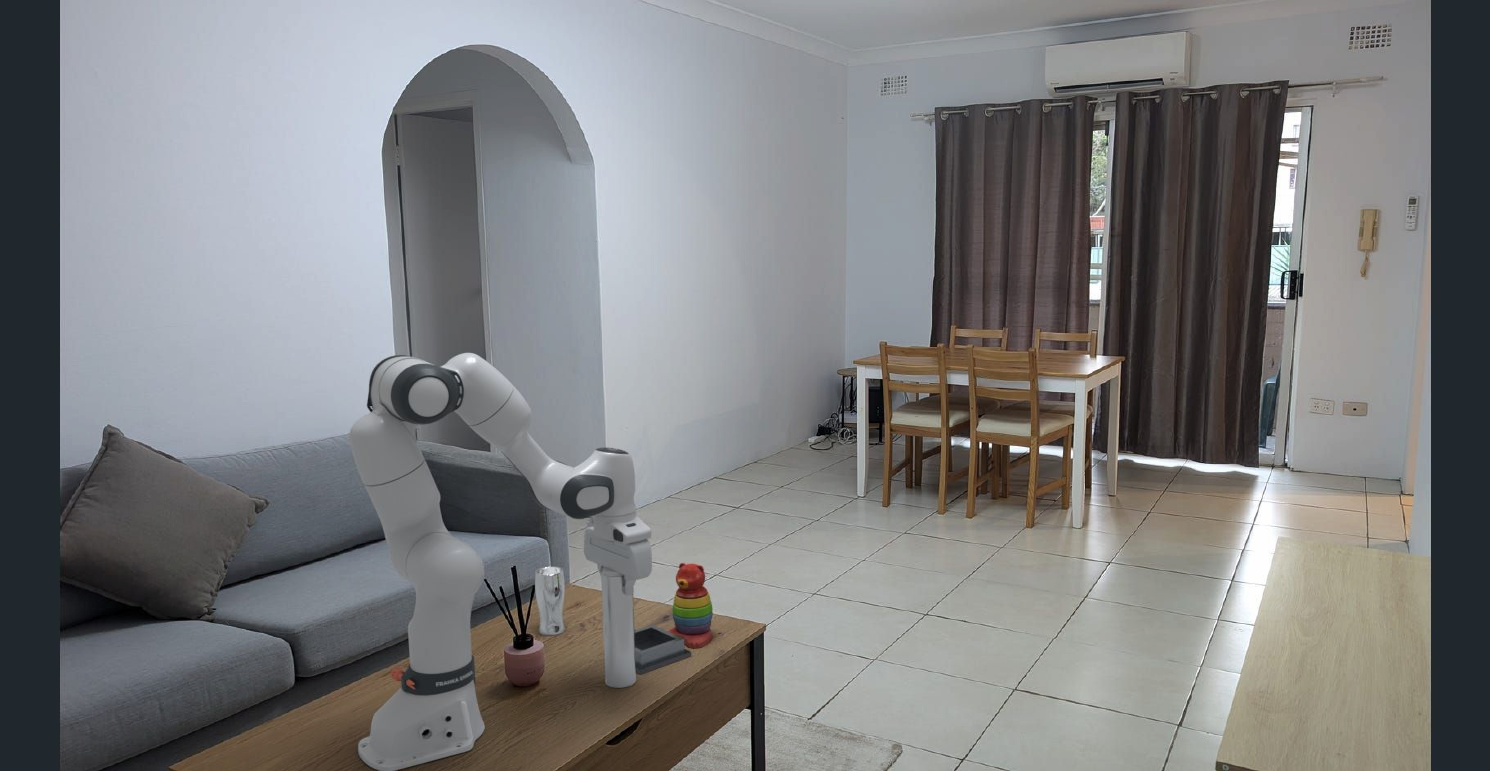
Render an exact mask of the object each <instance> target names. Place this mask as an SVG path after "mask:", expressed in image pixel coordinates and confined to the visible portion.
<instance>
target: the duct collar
mask: <svg viewBox="0 0 1490 771" xmlns="http://www.w3.org/2000/svg"><path fill="white" fill-rule="evenodd" d="M668 631H669V630H668ZM668 631H667V630H665V629H663V628H661V627H659V626H656V625H654V624H651V625H648V626H645V627H642V628H641V627H640V628H639V629H636V630H635V659H636V674H638V675H644V674H646V673H648V672H650V671H654V670H657V669H660V668H663V667H665V666H668V665H670V664H673V663H676V662H680V661H682V660H685V659H687V658H690V657H692V651H690V650H688V649H686V648H685V644H684V639H683V638H681V637H679V636H676V635H674V634H672V633H670V632H668Z"/></svg>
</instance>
